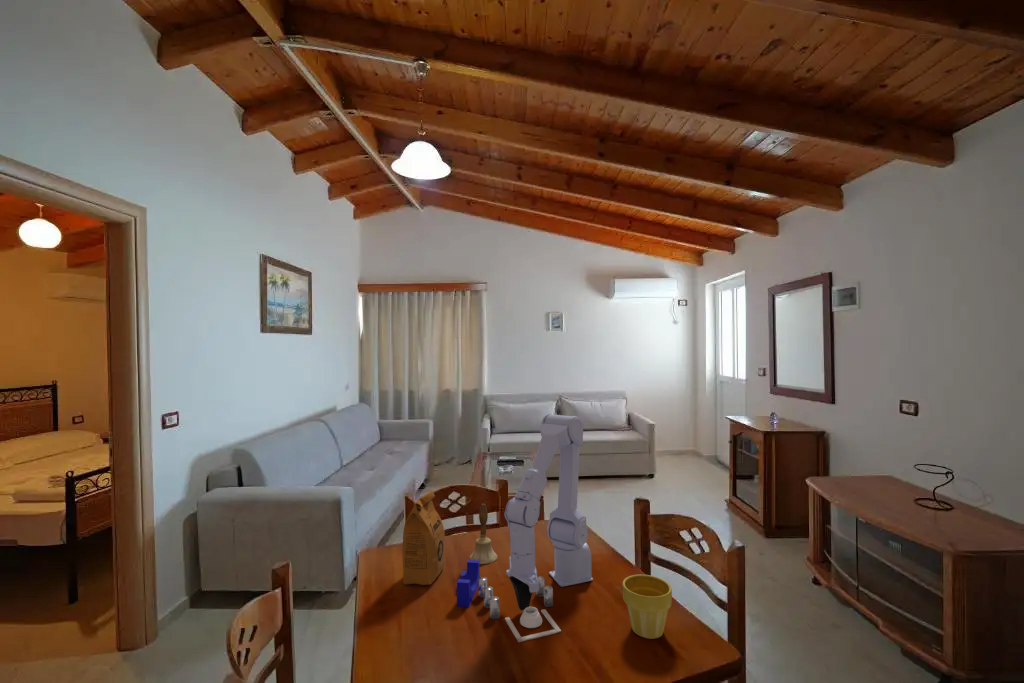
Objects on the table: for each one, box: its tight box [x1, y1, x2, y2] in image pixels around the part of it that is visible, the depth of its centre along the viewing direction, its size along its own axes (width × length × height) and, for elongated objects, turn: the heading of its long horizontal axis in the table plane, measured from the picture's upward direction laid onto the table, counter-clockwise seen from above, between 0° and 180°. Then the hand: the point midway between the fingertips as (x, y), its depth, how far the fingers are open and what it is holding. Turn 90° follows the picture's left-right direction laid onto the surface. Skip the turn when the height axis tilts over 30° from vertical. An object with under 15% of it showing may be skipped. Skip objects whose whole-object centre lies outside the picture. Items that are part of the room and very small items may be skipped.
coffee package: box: [401, 490, 446, 586], centre depth 129 cm, size 10×12×22 cm
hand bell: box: [469, 503, 498, 565], centre depth 140 cm, size 8×8×16 cm
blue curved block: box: [456, 559, 481, 608], centre depth 120 cm, size 12×4×6 cm, turn 172°
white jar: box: [519, 606, 543, 629], centre depth 107 cm, size 5×3×5 cm
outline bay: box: [504, 608, 562, 643], centre depth 105 cm, size 10×9×1 cm
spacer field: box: [478, 568, 554, 620], centre depth 116 cm, size 16×12×4 cm
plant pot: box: [621, 574, 673, 640], centre depth 103 cm, size 10×10×10 cm
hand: (523, 608), depth 111 cm, fingers closed
